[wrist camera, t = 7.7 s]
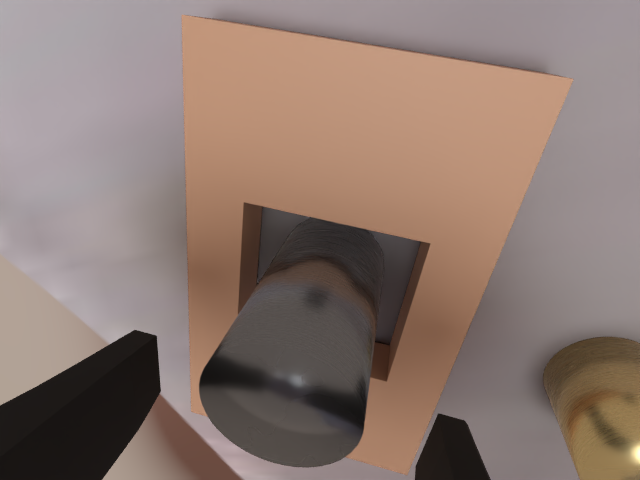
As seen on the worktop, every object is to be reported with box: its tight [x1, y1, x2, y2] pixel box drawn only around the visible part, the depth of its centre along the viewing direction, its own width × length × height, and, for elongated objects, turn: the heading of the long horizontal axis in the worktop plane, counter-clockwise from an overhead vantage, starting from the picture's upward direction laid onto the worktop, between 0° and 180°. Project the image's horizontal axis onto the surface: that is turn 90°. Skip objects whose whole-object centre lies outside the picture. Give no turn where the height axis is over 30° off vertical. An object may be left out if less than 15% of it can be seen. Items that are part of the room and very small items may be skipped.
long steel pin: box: [199, 218, 384, 467], centre depth 12 cm, size 4×4×7 cm
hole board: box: [182, 15, 573, 475], centre depth 14 cm, size 16×10×2 cm, turn 172°
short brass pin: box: [543, 337, 640, 480], centre depth 13 cm, size 4×4×4 cm
